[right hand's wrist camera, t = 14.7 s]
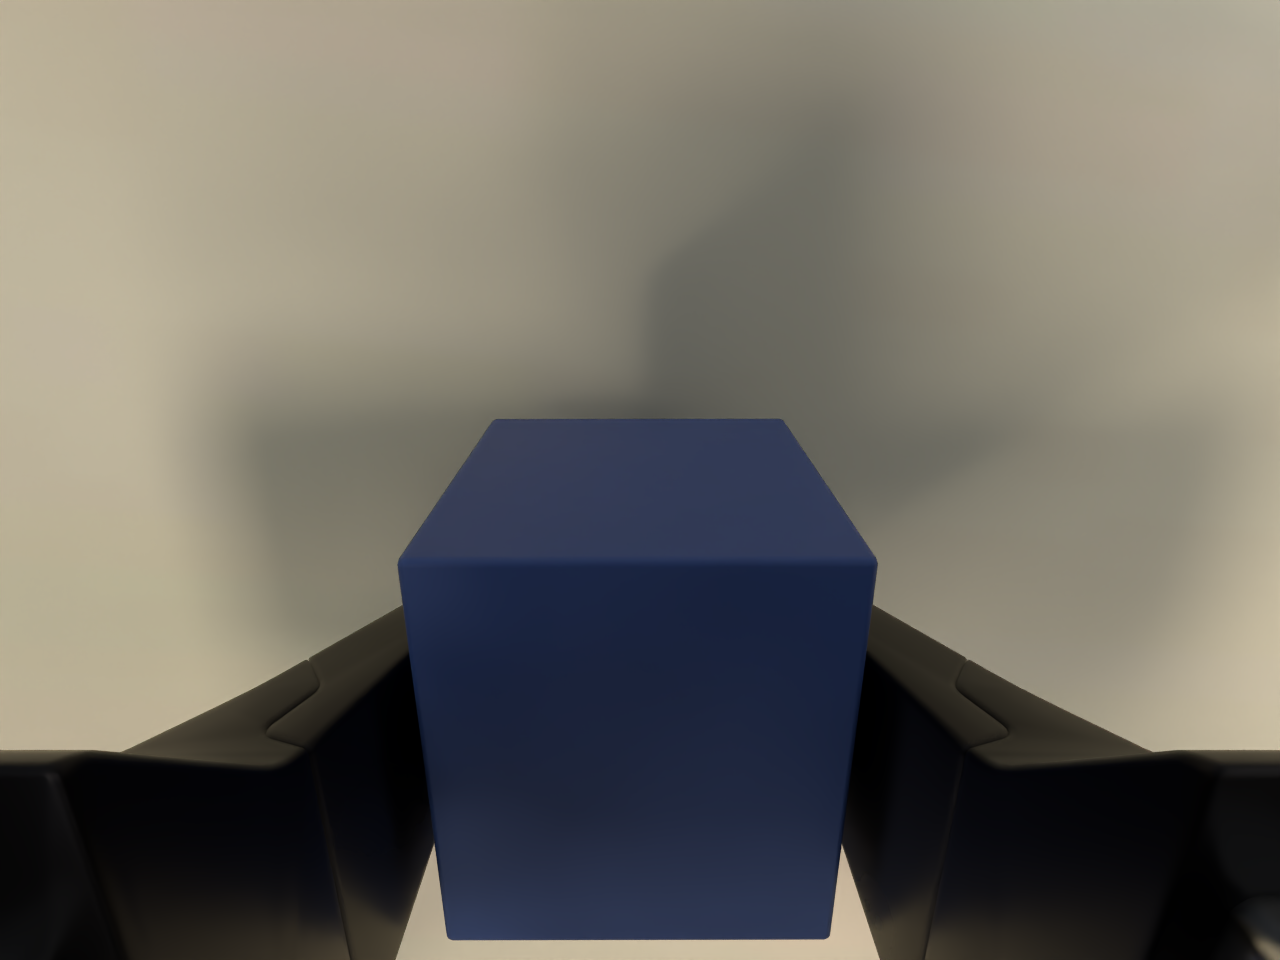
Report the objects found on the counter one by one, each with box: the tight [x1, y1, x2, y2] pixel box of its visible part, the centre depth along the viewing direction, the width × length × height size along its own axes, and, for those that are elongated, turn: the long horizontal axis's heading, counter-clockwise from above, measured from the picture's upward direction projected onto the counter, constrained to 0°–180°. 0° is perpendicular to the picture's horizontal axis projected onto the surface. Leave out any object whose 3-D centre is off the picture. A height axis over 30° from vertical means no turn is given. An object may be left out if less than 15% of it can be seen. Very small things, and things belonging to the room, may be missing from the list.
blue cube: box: [397, 419, 878, 940], centre depth 10 cm, size 5×5×5 cm
